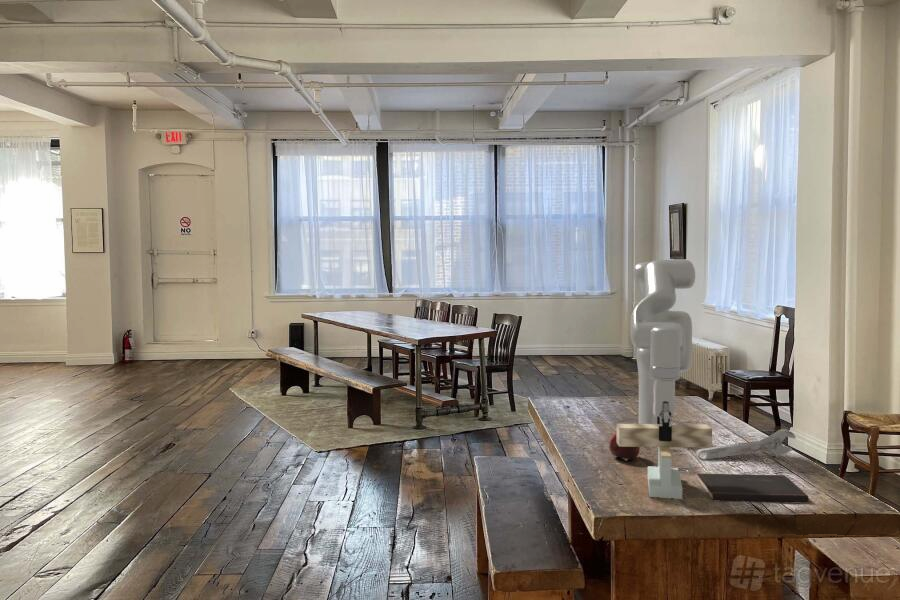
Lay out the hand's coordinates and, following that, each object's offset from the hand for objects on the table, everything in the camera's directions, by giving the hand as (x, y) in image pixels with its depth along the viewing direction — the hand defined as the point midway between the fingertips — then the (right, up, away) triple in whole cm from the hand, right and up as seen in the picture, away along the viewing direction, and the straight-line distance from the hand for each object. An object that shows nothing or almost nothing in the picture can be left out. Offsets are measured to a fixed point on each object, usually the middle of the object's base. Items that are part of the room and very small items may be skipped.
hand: (664, 436), depth 186 cm
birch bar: (0, -2, 0) cm, 2 cm away
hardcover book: (+21, -14, -4) cm, 26 cm away
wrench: (+32, -12, +24) cm, 42 cm away
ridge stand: (0, -14, -1) cm, 13 cm away
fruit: (-4, -12, +25) cm, 28 cm away
